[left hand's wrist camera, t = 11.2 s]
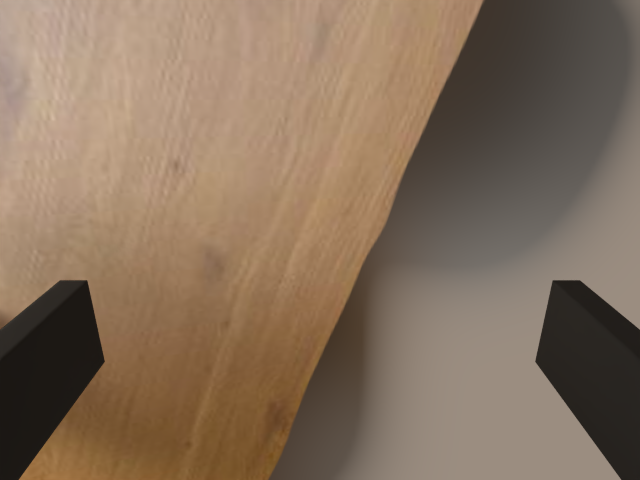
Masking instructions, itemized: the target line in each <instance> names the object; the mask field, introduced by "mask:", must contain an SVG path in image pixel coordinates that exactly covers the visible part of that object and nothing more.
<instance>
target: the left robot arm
mask: <svg viewBox="0 0 640 480" xmlns="http://www.w3.org/2000/svg"><path fill="white" fill-rule="evenodd" d="M104 362H105V361H104V356H103V352H102V347H101V342H100V338H99V333H98V328H97V324H96V319H95V314H94V310H93V305H92V300H91V296H90V291H89V286H88V282H87V280H60V281H59V282H58V283H56V284H55V285H54V286H53V287H52V288H50V289H49V290H48V291H47V292H45V293H44V294H43V295H42V296H41V297H39V298H38V299H37V300H36V301H35V302H33V303H32V304H31V305H30V306H28V307H27V308H26V309H25V310H24V311H22V312H21V313H20V314H19V315H18V316H16V317H15V318H14V319H13V320H11V321H10V322H9V323H8V324H7V325H5V326H4V327H3V328H2V329H1V330H0V480H19V478H20V477H21V476H22V474H23V473H24V472H25V470H26V469H27V467H28V466H29V465H30V463H31V462H32V461H33V459H34V458H35V456H36V455H37V454H38V452H39V451H40V450H41V448H42V447H43V445H44V444H45V443H46V441H47V440H48V439H49V437H50V436H51V435H52V433H53V432H54V430H55V429H56V428H57V426H58V425H59V424H60V422H61V421H62V419H63V418H64V417H65V415H66V414H67V413H68V411H69V410H70V408H71V407H72V406H73V404H74V403H75V402H76V400H77V399H78V398H79V396H80V395H81V393H82V392H83V391H84V389H85V388H86V387H87V385H88V384H89V382H90V381H91V380H92V378H93V377H94V376H95V374H96V373H97V371H98V370H99V369H100V367H101V366H102V365H103V363H104ZM535 362H536V363H537V365H538V366H539V367H540V369H541V370H542V371H543V373H544V374H545V376H546V377H547V378H548V380H549V381H550V382H551V384H552V385H553V386H554V388H555V389H556V391H557V392H558V393H559V395H560V396H561V397H562V399H563V400H564V402H565V403H566V404H567V406H568V407H569V408H570V410H571V411H572V413H573V414H574V415H575V417H576V418H577V419H578V421H579V422H580V424H581V425H582V426H583V428H584V429H585V430H586V432H587V433H588V435H589V436H590V437H591V439H592V440H593V441H594V443H595V444H596V445H597V447H598V448H599V450H600V451H601V452H602V454H603V455H604V456H605V458H606V459H607V461H608V462H609V463H610V465H611V466H612V467H613V469H614V470H615V472H616V473H617V474H618V476H619V477H620V478H621V480H640V330H639V329H638V328H637V327H636V326H635V325H633V324H632V323H631V322H630V321H629V320H627V319H626V318H625V317H624V316H622V315H621V314H620V313H619V312H618V311H616V310H615V309H614V308H613V307H612V306H610V305H609V304H608V303H607V302H605V301H604V300H603V299H602V298H601V297H599V296H598V295H597V294H596V293H595V292H593V291H592V290H591V289H590V288H588V287H587V286H586V285H585V284H584V283H582V282H581V281H580V280H575V281H574V280H554V281H553V282H552V286H551V291H550V296H549V300H548V305H547V310H546V314H545V319H544V324H543V328H542V333H541V338H540V342H539V347H538V352H537V356H536V361H535Z"/></svg>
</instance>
